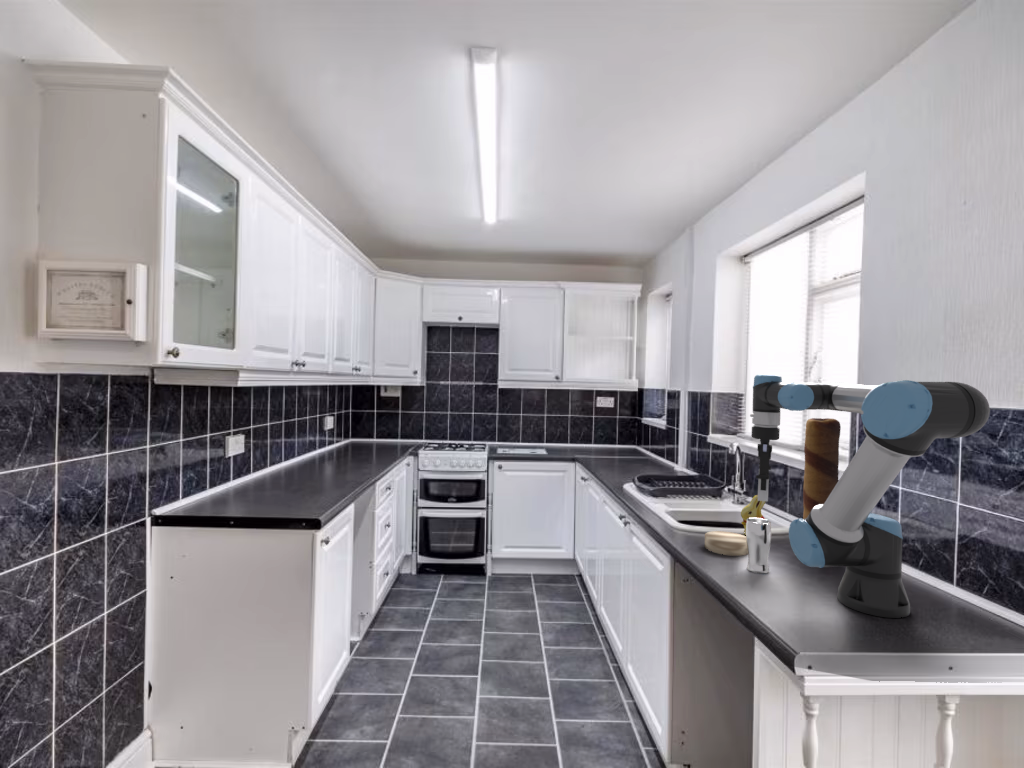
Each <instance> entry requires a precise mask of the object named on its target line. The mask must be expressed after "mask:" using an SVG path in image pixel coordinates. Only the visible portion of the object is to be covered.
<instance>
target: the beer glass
mask: <svg viewBox="0 0 1024 768" xmlns="http://www.w3.org/2000/svg"><path fill="white" fill-rule="evenodd" d="M771 524H772V522H771V521H770V520H768V519H766V518H765V519H761V518H748V519H747V523H746V542H747V548H748V554H747V555H748V560H747V566H746V569H747V571H749V572H751V573H754V574H759V575H764V574H765V575H766V574H769V573H770V567H769V555H770V550H771V549H770V548H771V545H772V543H771V542H772V525H771Z"/></svg>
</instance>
